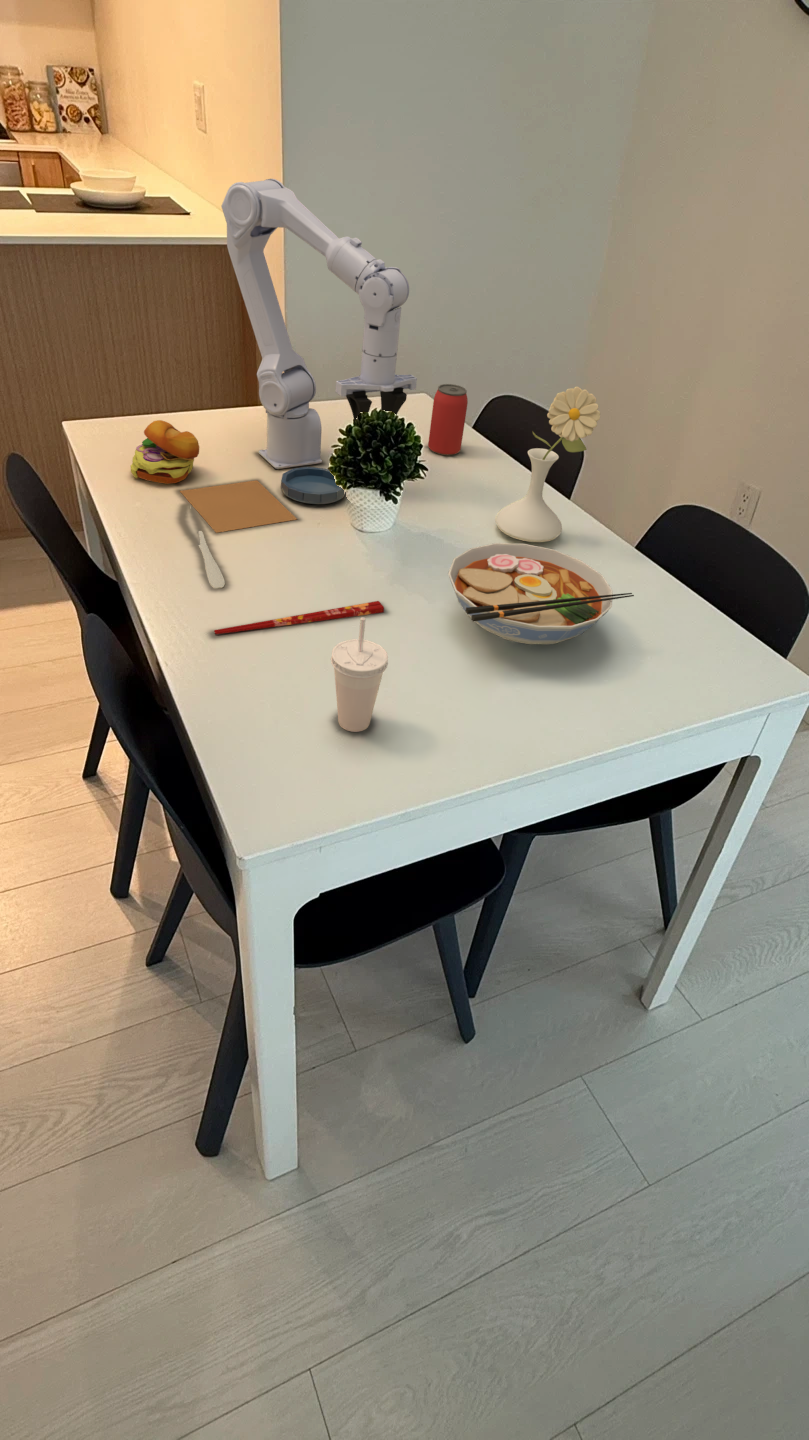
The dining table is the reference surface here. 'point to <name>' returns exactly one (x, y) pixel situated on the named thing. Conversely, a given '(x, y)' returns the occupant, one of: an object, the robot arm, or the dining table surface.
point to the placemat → (237, 506)
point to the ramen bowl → (529, 592)
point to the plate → (311, 485)
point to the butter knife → (211, 565)
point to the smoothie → (357, 679)
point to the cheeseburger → (165, 454)
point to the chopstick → (312, 617)
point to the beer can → (448, 419)
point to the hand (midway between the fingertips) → (372, 433)
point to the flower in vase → (531, 514)
